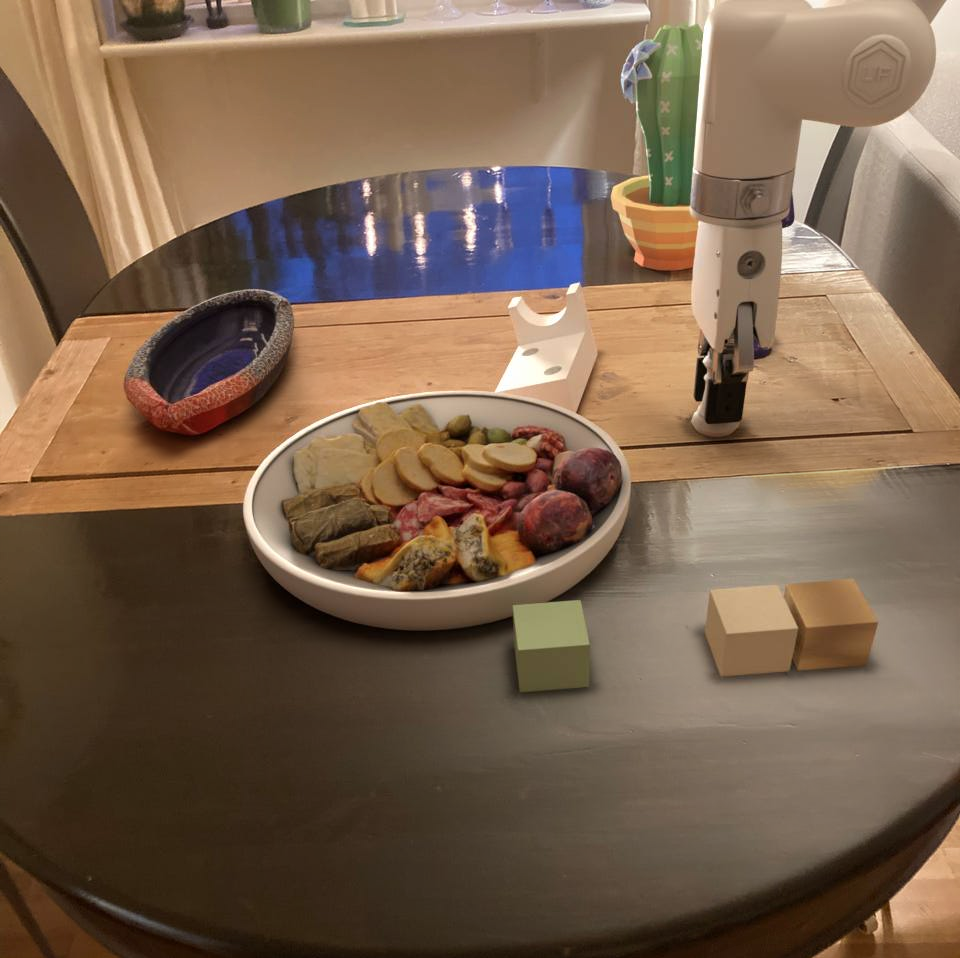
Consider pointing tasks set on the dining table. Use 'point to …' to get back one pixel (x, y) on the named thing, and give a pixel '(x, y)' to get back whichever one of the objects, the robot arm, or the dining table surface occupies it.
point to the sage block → (551, 646)
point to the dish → (211, 361)
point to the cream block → (750, 630)
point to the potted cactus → (663, 147)
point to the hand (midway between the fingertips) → (717, 408)
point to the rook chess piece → (698, 416)
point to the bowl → (438, 508)
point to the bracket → (551, 352)
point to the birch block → (830, 624)
